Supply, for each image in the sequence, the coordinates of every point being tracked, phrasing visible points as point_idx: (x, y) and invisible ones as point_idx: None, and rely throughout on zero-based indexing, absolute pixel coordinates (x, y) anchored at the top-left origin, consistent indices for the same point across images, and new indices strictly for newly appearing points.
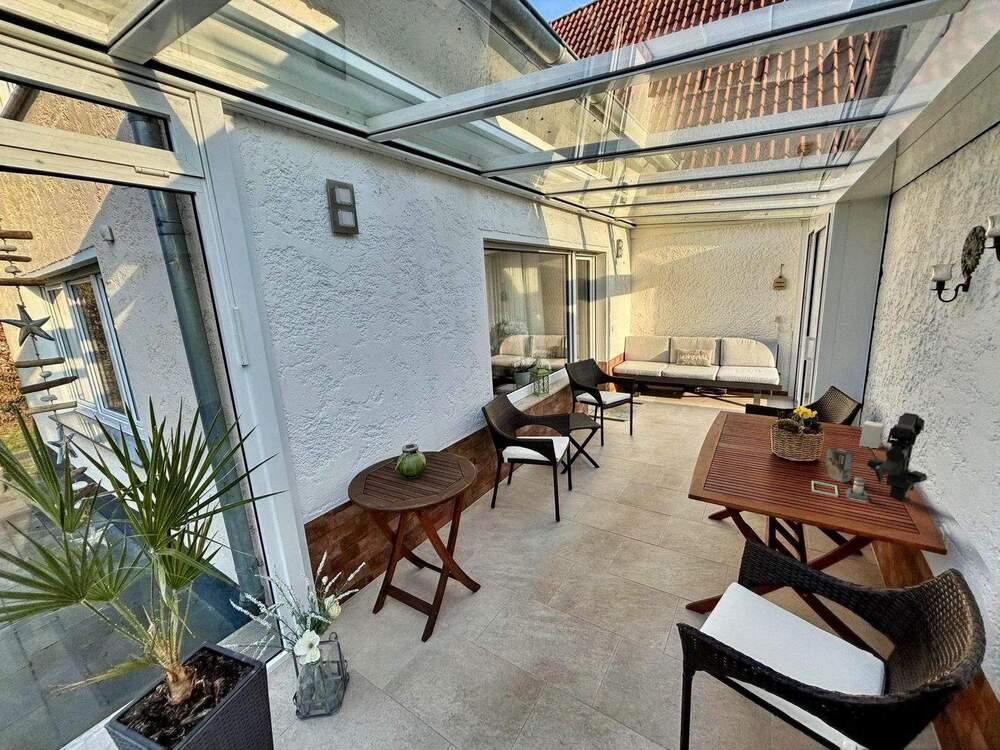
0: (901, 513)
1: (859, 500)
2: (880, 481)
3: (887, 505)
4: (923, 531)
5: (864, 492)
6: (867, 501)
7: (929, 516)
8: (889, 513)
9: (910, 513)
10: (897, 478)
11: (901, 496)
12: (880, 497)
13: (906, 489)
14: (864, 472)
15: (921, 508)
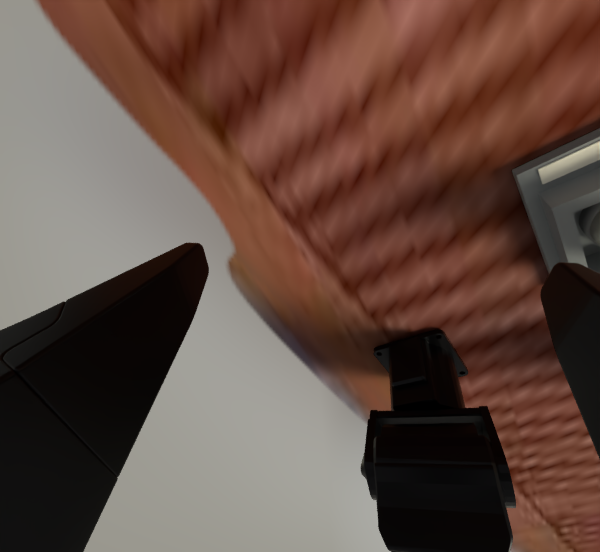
0: (331, 222)
1: (593, 145)
2: (573, 291)
3: (419, 256)
4: (140, 87)
5: None
6: (531, 188)
7: (259, 296)
8: (367, 156)
9: (310, 260)
10: (440, 472)
11: (396, 363)
12: (478, 317)
13: (145, 267)
14: (593, 469)
15: (316, 339)
